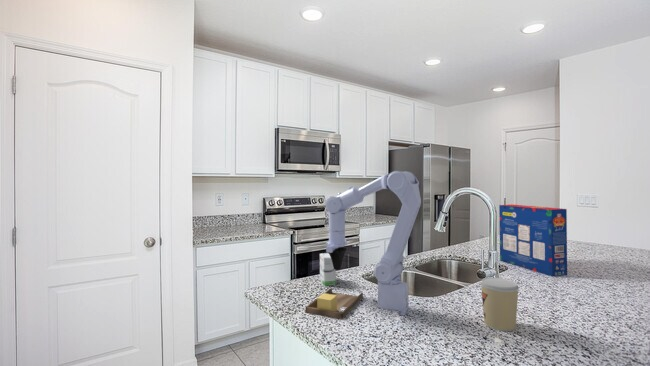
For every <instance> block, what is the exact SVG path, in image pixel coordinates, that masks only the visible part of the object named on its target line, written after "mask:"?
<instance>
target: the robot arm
mask: <svg viewBox="0 0 650 366" xmlns="http://www.w3.org/2000/svg"><path fill="white" fill-rule="evenodd" d="M419 185H420V181H419V180H418V178H417V177H416V176H415V174H414V173H413V172H411V171H406V170H405V171H401V170H394V171H391V172H389V173H386V174H384V175H382V176H380V177H378V178H376V179H375V180H372V181H370V182H369V183H367V184H365V185H363V186H361V187H357V186H349V187H348V188H347V190H345V191H342V192H338V193H337V195H335V196H334V195H332V196H330V197H328V198H327V199H326V201H325V204H324V205H325V209H326V211H327V212H328V241H327V242H325V245H327V246H326V247H325V253H329V255H330V257H331V260H332V263H333V267H334V269H336V271H338V270H341V269H342V264H343V259H344V256H345V254H346V252H347V248H346V247H345V246H347V245H348V239H346V212H347V210H348V209H350V208H351V207H352V208H353V207H354V206H357V205H359V204H360V203H362V202H363V201H364V199H365V197H367V196H369V195H372V194H375V193H376V192H379V191H382V190H390V191H391V192H392V193H394V195H396V196H397V198H398V199H399V201H400V202H401V208H400V211H399V213H398V217H397V218H396V222H395V225H394V228H393V230H392V234H391V236H390V239H389V242H388V245H387V248H386V251H385V252H384V254H383V255H382V256H381V258H380V260H379V262H378V263H377V264H376V265H375V266H374V277H375V278H376V280H377V306H378V307H379V308H381V309H384V310H389V311H391V310H392V311H393V310H394V311H398V313H397V315H398V316H403V317H404V316H405V315H406V314H407V312H408V310H409V308H410V305H409V303H410V301H409V298H410V297H409V284H408V282H404V281H402V279H401V274H403V272H404V264H403V263H404V259H405V257H404V253H405V249H406V246H407V244H408V242H409V238H410V236H411V232H412V230H413V227H414V224H415V222H416V219H417V216H418V213H419V210H420V207H421V204H422V199H421V198H422V197H421V192H420V188H419Z"/></svg>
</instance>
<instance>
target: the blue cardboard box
mask: <svg viewBox="0 0 650 366" xmlns="http://www.w3.org/2000/svg"><path fill="white" fill-rule="evenodd" d="M498 208H499V261H500V262H502V263H505V264H506V263H507V264H509V265H513V266H517V267H520V268H522V269H525V270H529V271H532V272H536V273H539V274H542V275H545V276H549V277H562V276H568V228H567V227H568V225H567V224H568V222H567V221H568V219H567V218H568V215H567V212H568V211H567V208H558V207H557V208H556V207H548V206H547V207H546V206H536V205H535V206H534V205H522V204H499V207H498Z"/></svg>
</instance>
